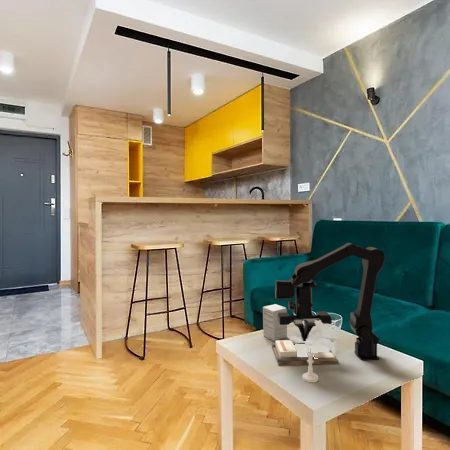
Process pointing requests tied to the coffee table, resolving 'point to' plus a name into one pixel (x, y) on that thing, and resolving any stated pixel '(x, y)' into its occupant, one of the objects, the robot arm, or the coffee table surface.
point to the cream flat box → (286, 348)
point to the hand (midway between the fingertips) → (304, 340)
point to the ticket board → (305, 358)
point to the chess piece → (310, 370)
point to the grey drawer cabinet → (273, 322)
